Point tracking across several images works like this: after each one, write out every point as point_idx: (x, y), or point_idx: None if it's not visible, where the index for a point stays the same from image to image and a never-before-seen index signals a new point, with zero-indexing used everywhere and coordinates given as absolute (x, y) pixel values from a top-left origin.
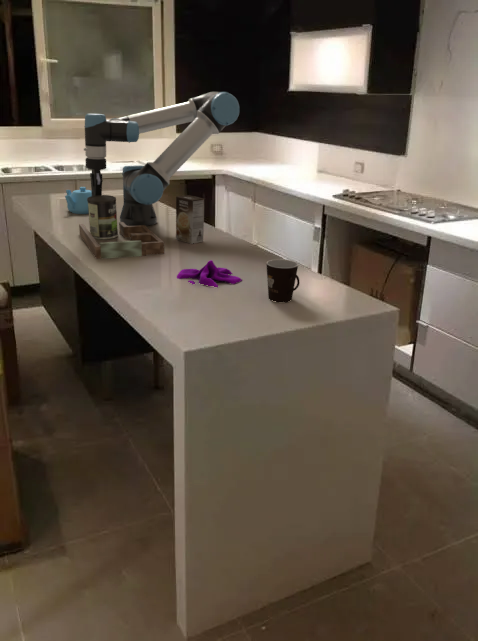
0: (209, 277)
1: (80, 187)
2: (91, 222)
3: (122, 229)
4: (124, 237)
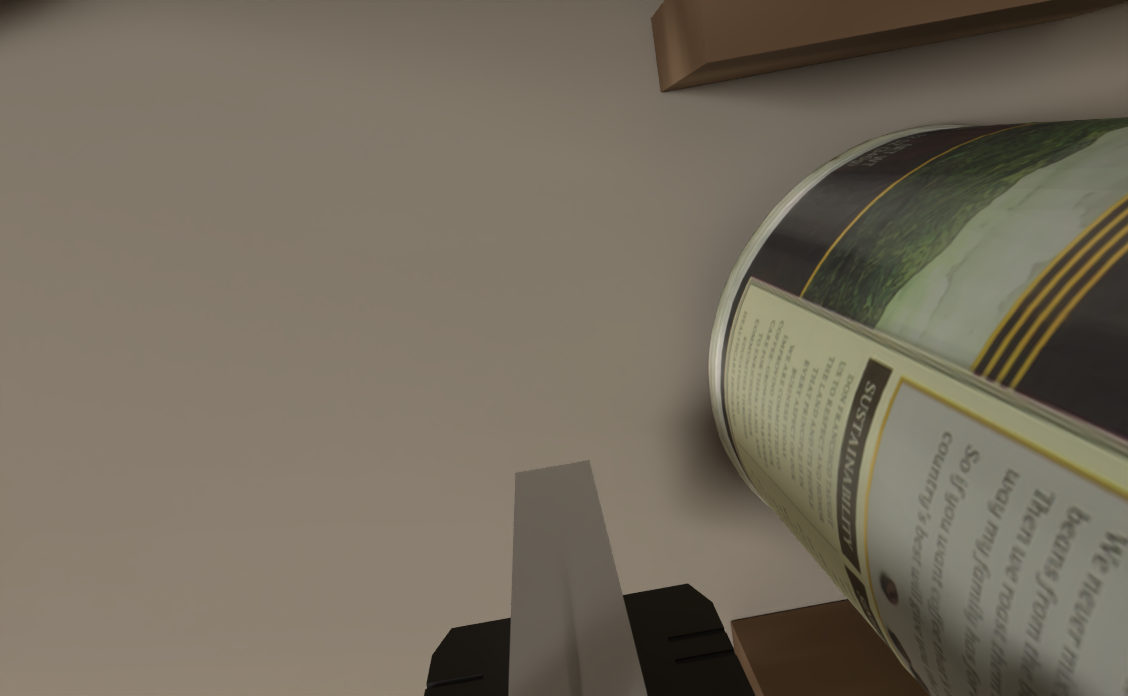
0: None
1: None
2: None
3: (1001, 18)
4: (1072, 16)
